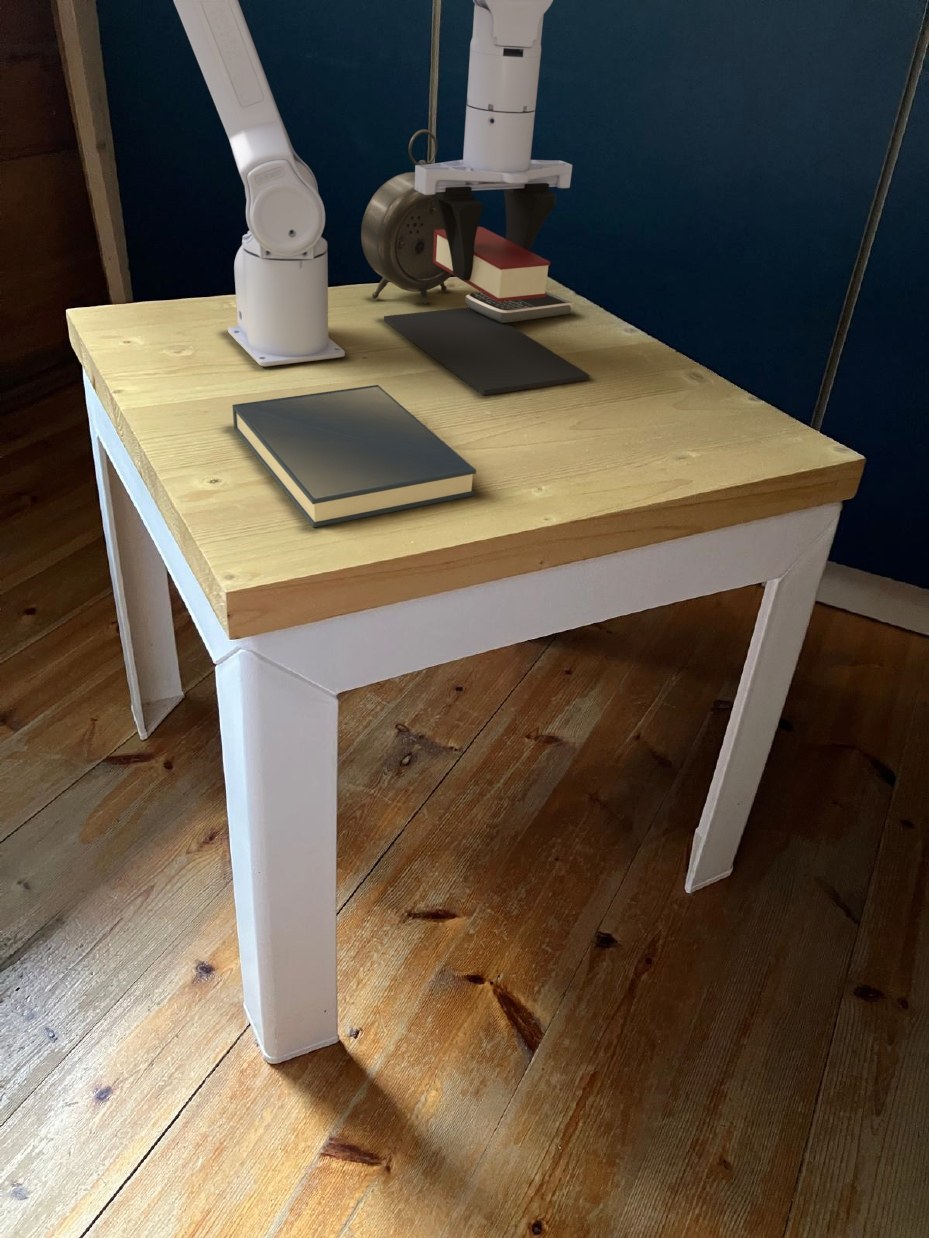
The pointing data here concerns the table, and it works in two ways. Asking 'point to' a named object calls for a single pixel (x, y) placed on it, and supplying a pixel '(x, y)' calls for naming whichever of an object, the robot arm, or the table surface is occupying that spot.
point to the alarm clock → (403, 233)
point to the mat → (485, 350)
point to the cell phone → (519, 307)
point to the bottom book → (351, 454)
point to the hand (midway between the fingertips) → (487, 274)
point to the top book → (498, 266)
